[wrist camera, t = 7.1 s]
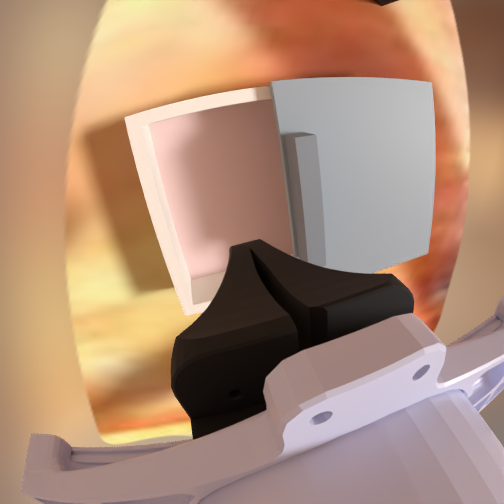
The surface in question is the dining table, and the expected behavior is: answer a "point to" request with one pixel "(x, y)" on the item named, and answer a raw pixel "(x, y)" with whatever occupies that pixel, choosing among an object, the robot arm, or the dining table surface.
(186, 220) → the box
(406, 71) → the dining table surface
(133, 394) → the dining table surface
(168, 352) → the dining table surface
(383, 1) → the watch
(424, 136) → the lid
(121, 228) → the dining table surface
